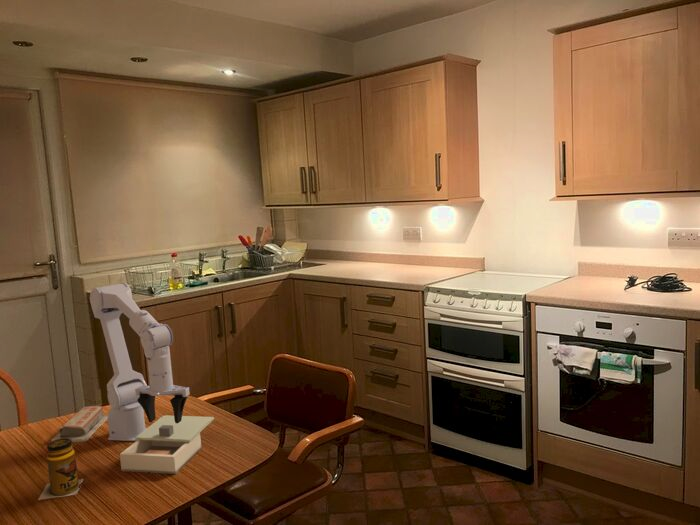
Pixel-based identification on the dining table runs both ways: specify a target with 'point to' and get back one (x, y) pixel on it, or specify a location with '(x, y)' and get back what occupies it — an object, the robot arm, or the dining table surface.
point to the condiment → (61, 470)
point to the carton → (159, 455)
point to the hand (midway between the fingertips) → (165, 421)
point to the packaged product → (82, 424)
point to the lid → (175, 429)
